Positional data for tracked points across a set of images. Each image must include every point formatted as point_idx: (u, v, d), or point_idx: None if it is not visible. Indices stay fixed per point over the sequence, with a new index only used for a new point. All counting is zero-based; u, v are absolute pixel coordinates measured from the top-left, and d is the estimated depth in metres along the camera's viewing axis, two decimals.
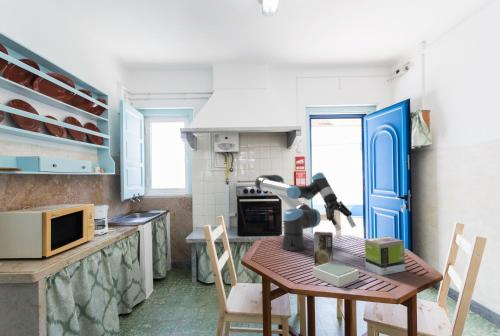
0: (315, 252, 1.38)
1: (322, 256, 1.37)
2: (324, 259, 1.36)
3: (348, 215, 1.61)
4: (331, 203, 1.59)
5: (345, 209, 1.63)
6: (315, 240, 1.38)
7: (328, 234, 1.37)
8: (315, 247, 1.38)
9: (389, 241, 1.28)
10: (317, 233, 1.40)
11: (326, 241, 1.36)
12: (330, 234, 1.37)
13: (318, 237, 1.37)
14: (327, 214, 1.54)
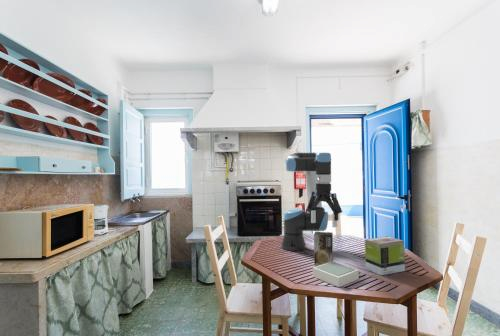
0: (315, 252, 1.38)
1: (322, 256, 1.37)
2: (324, 259, 1.36)
3: None
4: (317, 193, 1.41)
5: None
6: (315, 240, 1.38)
7: (328, 234, 1.37)
8: (315, 247, 1.38)
9: (389, 241, 1.28)
10: (317, 233, 1.40)
11: (326, 241, 1.36)
12: (330, 234, 1.37)
13: (318, 237, 1.37)
14: None
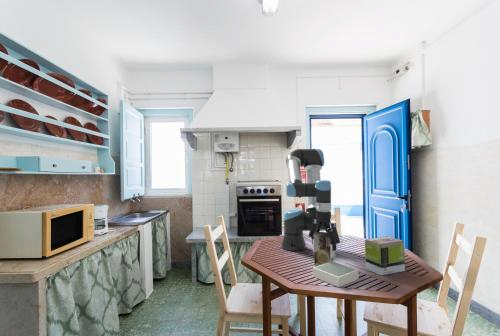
0: (315, 252, 1.38)
1: (322, 256, 1.37)
2: (324, 259, 1.36)
3: None
4: (317, 221, 1.41)
5: None
6: (315, 240, 1.38)
7: None
8: (315, 247, 1.38)
9: (389, 241, 1.28)
10: (317, 233, 1.40)
11: (326, 241, 1.36)
12: None
13: (318, 237, 1.37)
14: None
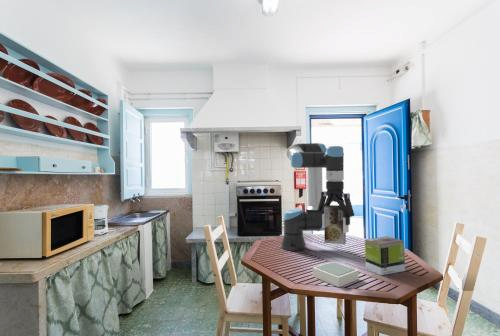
0: (325, 227, 1.21)
1: (334, 231, 1.20)
2: (336, 235, 1.20)
3: None
4: (328, 192, 1.25)
5: None
6: (325, 214, 1.21)
7: None
8: (325, 222, 1.21)
9: (389, 241, 1.28)
10: (327, 206, 1.23)
11: (338, 214, 1.19)
12: None
13: (329, 210, 1.21)
14: None
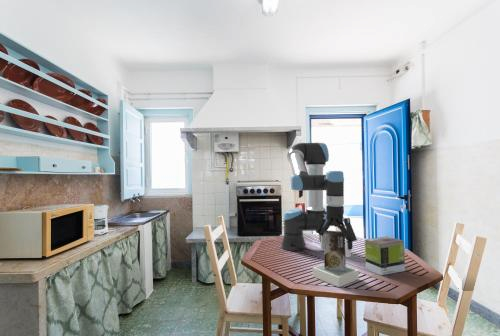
0: (325, 254, 1.21)
1: (333, 258, 1.20)
2: (336, 261, 1.20)
3: None
4: (328, 217, 1.25)
5: None
6: (325, 240, 1.21)
7: (340, 233, 1.21)
8: (325, 248, 1.21)
9: (389, 241, 1.28)
10: (327, 232, 1.23)
11: (338, 241, 1.20)
12: (342, 233, 1.21)
13: (329, 237, 1.21)
14: None
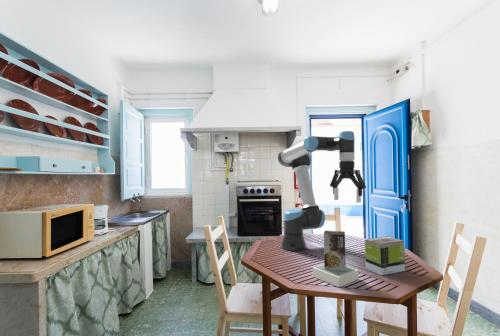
0: (325, 254, 1.21)
1: (333, 258, 1.20)
2: (336, 261, 1.20)
3: None
4: (341, 171, 1.46)
5: None
6: (325, 240, 1.21)
7: (340, 233, 1.21)
8: (325, 248, 1.21)
9: (389, 241, 1.28)
10: (327, 232, 1.23)
11: (338, 241, 1.20)
12: (342, 233, 1.21)
13: (329, 237, 1.21)
14: None
